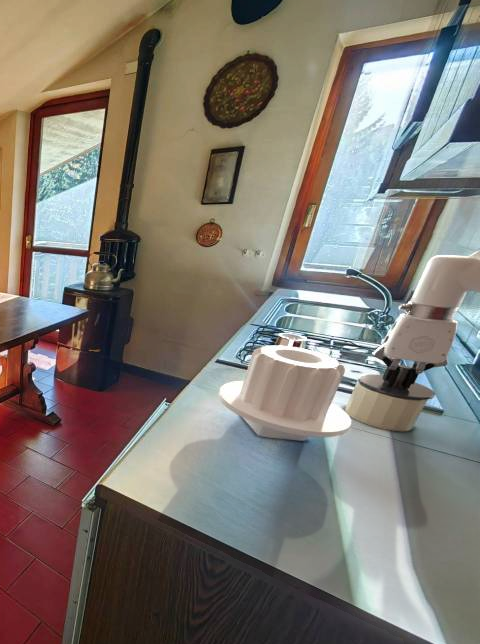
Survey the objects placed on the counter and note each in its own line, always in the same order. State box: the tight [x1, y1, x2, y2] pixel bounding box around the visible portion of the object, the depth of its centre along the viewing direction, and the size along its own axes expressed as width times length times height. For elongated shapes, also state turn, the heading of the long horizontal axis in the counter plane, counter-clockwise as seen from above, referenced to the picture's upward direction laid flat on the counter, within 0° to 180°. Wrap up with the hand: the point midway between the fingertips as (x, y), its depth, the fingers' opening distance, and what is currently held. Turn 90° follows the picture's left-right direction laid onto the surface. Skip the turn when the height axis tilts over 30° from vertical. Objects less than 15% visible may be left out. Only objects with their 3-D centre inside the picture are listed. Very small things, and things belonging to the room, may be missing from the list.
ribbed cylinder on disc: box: [217, 344, 352, 442], centre depth 91 cm, size 25×25×19 cm
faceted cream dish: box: [344, 380, 429, 432], centre depth 98 cm, size 12×12×8 cm
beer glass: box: [273, 332, 308, 349], centre depth 116 cm, size 7×7×15 cm
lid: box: [357, 364, 436, 401], centre depth 95 cm, size 13×13×6 cm
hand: (396, 384), depth 96 cm, fingers closed on lid, 2 cm apart
